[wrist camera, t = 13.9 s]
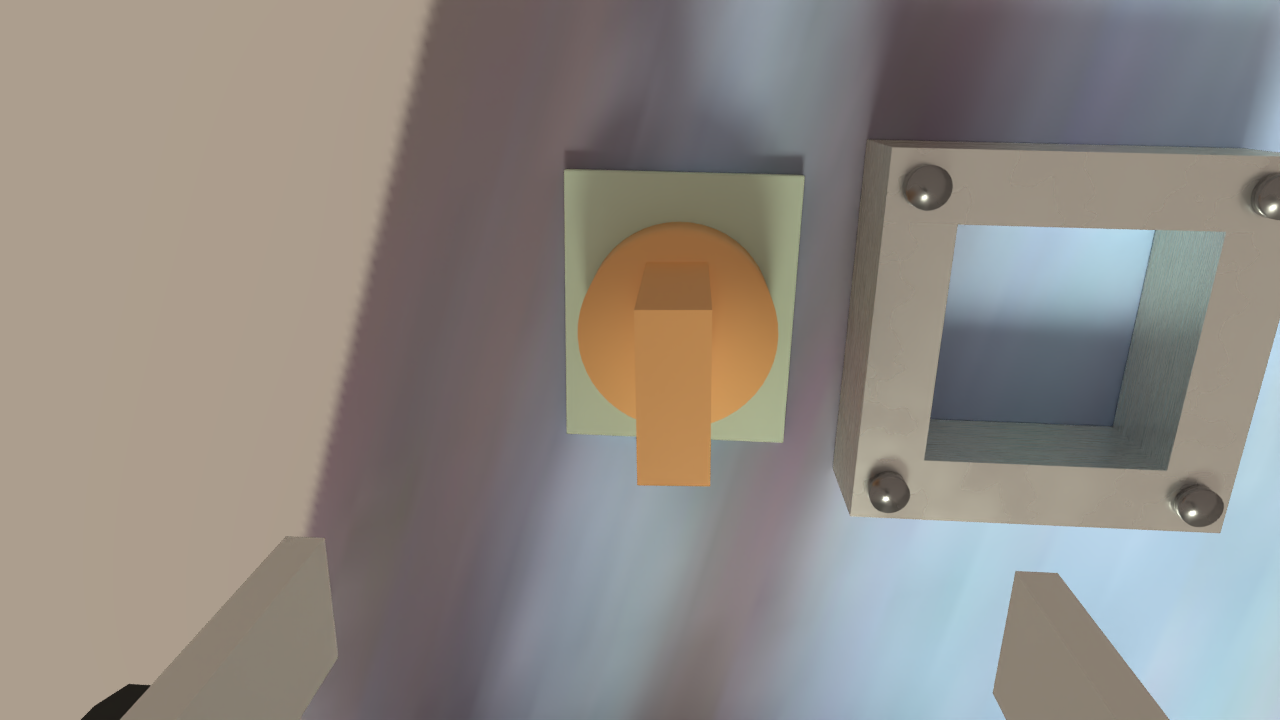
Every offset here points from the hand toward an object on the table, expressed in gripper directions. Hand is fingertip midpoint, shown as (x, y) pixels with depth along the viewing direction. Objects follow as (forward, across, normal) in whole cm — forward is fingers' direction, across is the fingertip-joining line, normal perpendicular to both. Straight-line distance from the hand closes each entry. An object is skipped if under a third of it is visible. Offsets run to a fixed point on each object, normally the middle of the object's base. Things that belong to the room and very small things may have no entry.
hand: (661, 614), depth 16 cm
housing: (+22, -15, 0) cm, 27 cm away
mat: (+22, 0, 0) cm, 22 cm away
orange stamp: (+22, 0, 0) cm, 22 cm away
